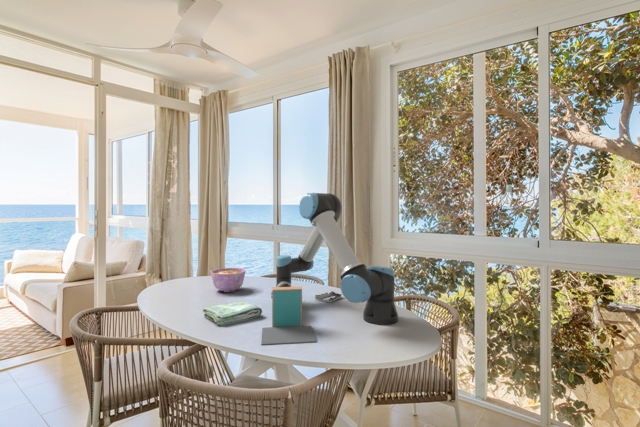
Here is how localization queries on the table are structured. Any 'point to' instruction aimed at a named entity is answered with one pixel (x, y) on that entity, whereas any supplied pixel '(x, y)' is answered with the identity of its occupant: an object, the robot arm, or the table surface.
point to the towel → (232, 313)
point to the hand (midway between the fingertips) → (286, 304)
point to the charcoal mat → (287, 335)
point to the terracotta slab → (286, 306)
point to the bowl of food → (228, 278)
